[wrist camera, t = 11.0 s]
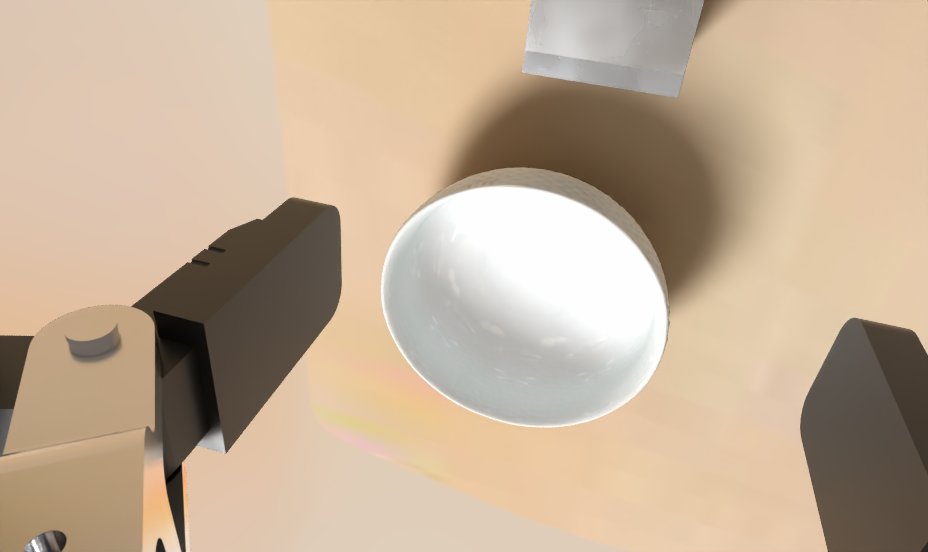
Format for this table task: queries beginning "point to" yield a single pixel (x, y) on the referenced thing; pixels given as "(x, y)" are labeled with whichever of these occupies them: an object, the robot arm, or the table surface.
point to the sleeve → (613, 42)
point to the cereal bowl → (527, 298)
